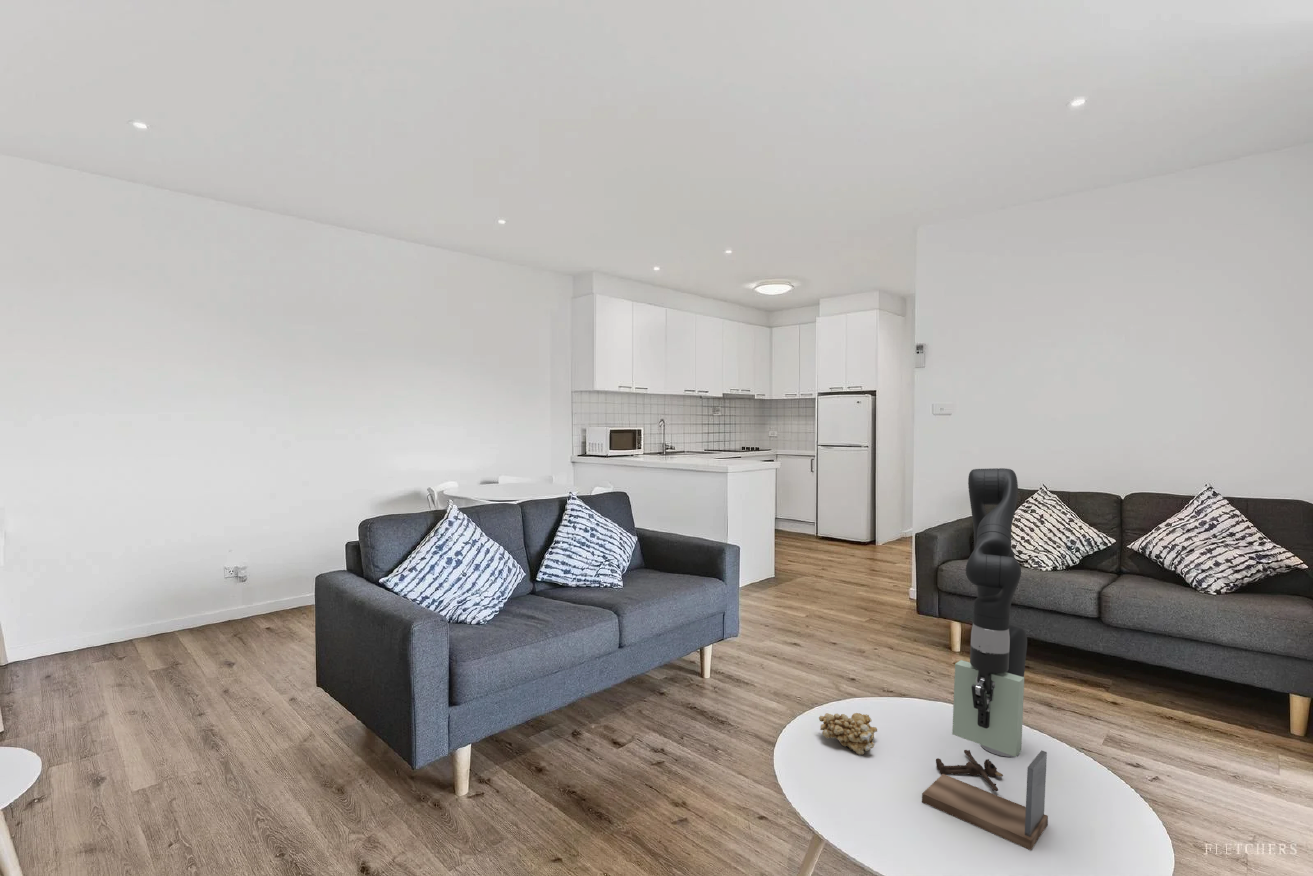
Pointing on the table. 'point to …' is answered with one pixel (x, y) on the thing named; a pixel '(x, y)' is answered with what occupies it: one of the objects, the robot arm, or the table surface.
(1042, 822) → the walnut shelf board
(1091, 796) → the table surface
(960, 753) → the table surface
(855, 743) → the mineral formation
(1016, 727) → the sage book
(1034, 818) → the grey metal bookend
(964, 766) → the wooden monkey figure
